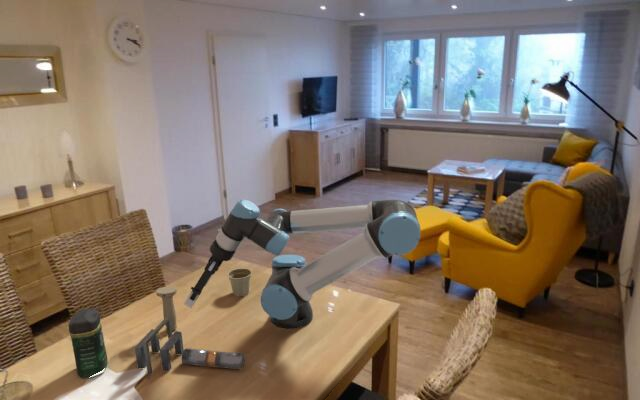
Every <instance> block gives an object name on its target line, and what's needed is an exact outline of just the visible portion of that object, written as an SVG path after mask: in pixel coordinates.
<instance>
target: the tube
mask: <svg viewBox="0 0 640 400" xmlns="http://www.w3.org/2000/svg"><path fill="white" fill-rule="evenodd" d="M183 349H184V351H183V353H182V355H181V363H182V364H183V365H190V366H191V365H193V366H203V367H211V368H213V367H214V368H222V369H223V368H224V369H233V370H242V369H243V368H244V364H245V354H244V353H241V352H229V351H219V350H218V351H217V350H209V349H208V350H206V349H199V348H198V349H195V348H183Z"/></svg>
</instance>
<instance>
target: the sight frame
mask: <svg viewBox="0 0 640 400" xmlns="http://www.w3.org/2000/svg"><path fill="white" fill-rule="evenodd" d="M165 324H166V325H165ZM166 326H167V329H166V332H167V337H168V338H167V340H168V339H169V338H170V337H171V336H172V335H173V331H172V328H171V320H170V316H166V318H165V319H164V318H163V320H162V321H161V322H159V324H157V326H156V327H155V328H154V330H153V331H152V332H151V334H150V335H149V336H148V337H147V338H146V339H145V340H144V341H143V347H144V354H145V360H146V372H147V375H148V376H151V375H152V374H153V372H154V371H153V366H152V365H153V364H152V360H151V359H152V358H151V354H150V353H151V352H150V347H149V345H150V343H151V342H150V341H151V340H152V338H153V337H154V336H155V335H156V338H157V339H159V340H160V339H161V334H160V331H161V330H162V329H163V328H164V327H166ZM149 342H150V343H149ZM148 343H149V344H148ZM173 348H175V346H174V345H173V347H172V348H171V349H173Z"/></svg>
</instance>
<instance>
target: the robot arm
mask: <svg viewBox="0 0 640 400" xmlns="http://www.w3.org/2000/svg"><path fill="white" fill-rule="evenodd" d="M260 213H261V211H260V208H259V206H257V205H256V204H255V203H254V202H252V201H250V200H248V199H239V200H238V201H237V202H236V203H235V205H234V206H233V208H232V209H231V210H230V212H229V215H228V216H227V218H226V220H225V221H224V223H223V225H222V226H221V228H218V229H217V232H218V233H217V235H216V236H215V238H214V239H213V241H212V243H211V245H210V246H209V251H210V254H211V256H210V258H209V259H208V260H207V263H206V265H205V266H204V271H203V273H202V274H201V276H200V277H199V279H198V280H197V282H196V284H195V285H194V286H191V287H190V289H191V291H190V293H189V295H188V297H187V298H186V299H185V301H184V303H183V304H184V306H187V307H188V308H189V309H192V308H193V307H194V305H195V304H196V302H197V300H198V299H199V297H200V295H201V293H202V292H203V289H204V288H205V287H207V286H208V283H209V281H210V280H211V279H212V277H213V275H215V274H216V272H218V271H219V268H220V267H221V266H222V264H223V262H224V261H225V262H228V261H231V260H232V258H233V257H234V256H235V254H236V252H237V250H238V249H239V247H240V246H241V244H242V242H243V240H244V239H245V238H246V239H247V240H249V241H251V242H253V243H254V244H256V245H257V246H259V247H260V248H261V249H263V250H265V251H266V252H268V253H270V254H272V255H274V256H275V257H273V258H272V260H271V265H270V266H271V269H272V270H271V274H270V277H269V278H268V280H267V283H265V286H264V288H263V289H262V291H261V296H260V305H261V307H262V310H263V311H264V312H265V313H266V315H268V316H269V321H270V323H271V324H272V325H273V326H275V327H277V328H279V329H285V330H293V329H295V330H296V329H300V328H303V327H305V326H307V325H308V324H309V325H310V324H311V321H312V320H313V317H314V314H313V307H312V306H311V302H310V301H311V300H312V298H313V296H314V295H313V294H314V293H315V292H317V291H318V292H319V290H321V289H324V288H325V287H327V286H329V285H330V284H332V283H334V282H336V281H338V280H340V279H342V278H343V277H345V276H347V275H349V274H350V273H352V272H354V271H356V270H357V269H359V268H361V267H363V266H364V265H367V264H368V263H370V262H372V261H373V260H376V259H377V258H382V259H388V258H391V256H392V257H393V255H394V256H404V255H407V254H409V253H411V252H413V250H414V249H416V247H417V246H418V244H419V242H420V239H421V225H420V222H419V219H418V217H417V213H416V210H415V208H414V207H413V206H412V205H411V204H410V203H409V202H406V201H405V200H402V199H383V200H381V199H380V200H373V201H372V200H370V201H369V203H367V204H361V205H359V204H358V205H351V206H350V205H349V206H339V207H325V208H314V209H302V210H286V209H284V208H276V209H274V210H273V211H272V212H270V213H269V214H268V216H267V217H266V219H264V218H262V217H261V216H260ZM360 229H363V231H362V232H361V233H359V234H358V235H356V236H353V237H352V238H350V239H349V240H347V241H346V242H344V243H341V244H340V245H338V246H337V247H335V248H333V249H332V250H330V251H328V252H326V253H324V254H322V255H321V256H319V257H318V258H316V259H314V260H312V261H310V262H309V263H307V260H306V259H305V257H303V256H302V255H298V254H283V255H282V252H283V251H284V248H286V246H287V244H288V243H289V240H290V239H291V238H290V236H289V235H291V234H302V233H303V234H304V233H305V234H306V233H317V232H319V233H321V232H334V231H345V230H360Z"/></svg>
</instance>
